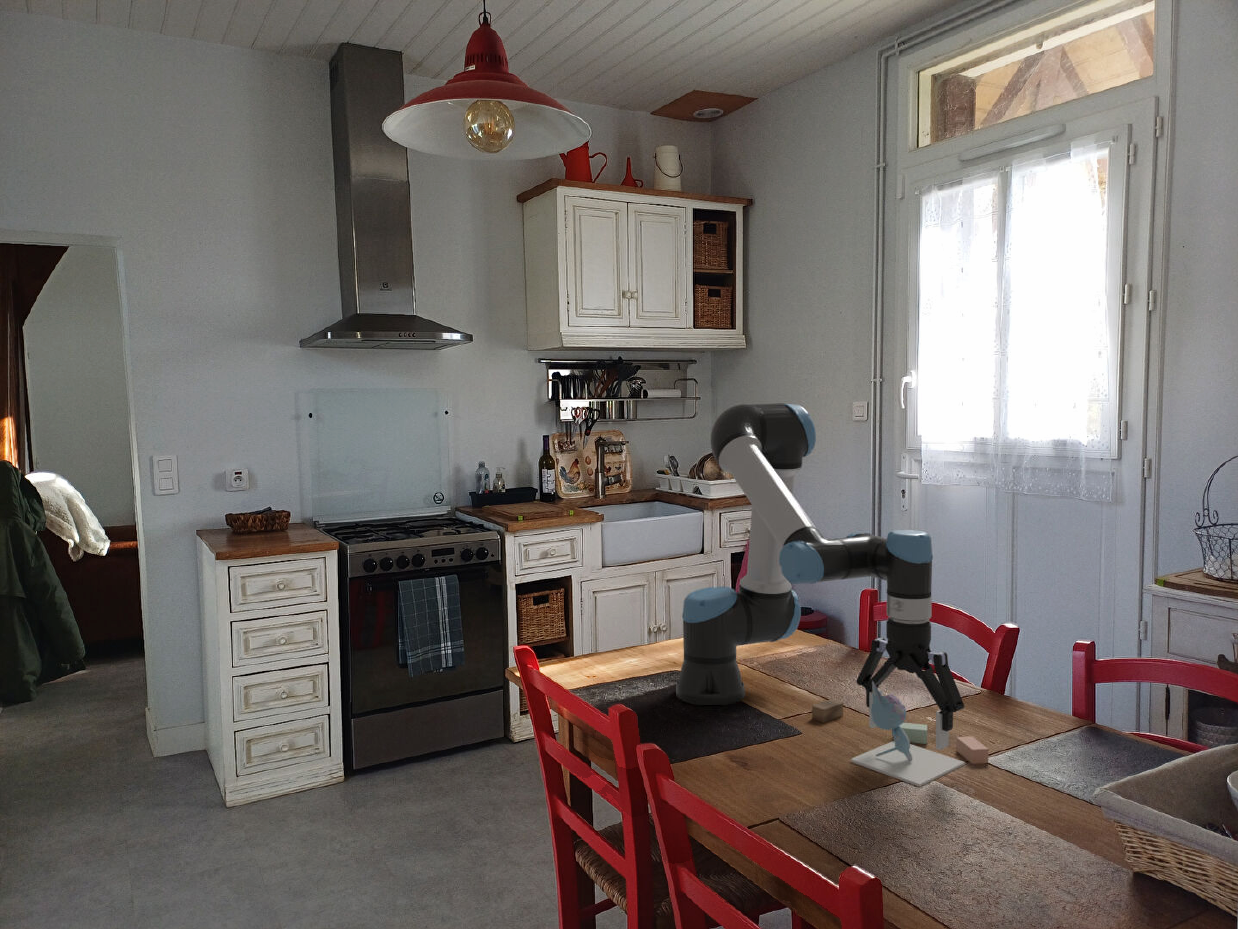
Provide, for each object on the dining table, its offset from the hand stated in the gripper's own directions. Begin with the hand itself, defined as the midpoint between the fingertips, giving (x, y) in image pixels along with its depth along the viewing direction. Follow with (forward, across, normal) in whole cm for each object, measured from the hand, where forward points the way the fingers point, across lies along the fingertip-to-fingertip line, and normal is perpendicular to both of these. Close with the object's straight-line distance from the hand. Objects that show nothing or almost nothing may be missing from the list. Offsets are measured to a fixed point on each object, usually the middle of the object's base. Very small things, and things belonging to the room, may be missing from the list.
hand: (907, 736), depth 160 cm
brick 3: (+5, +6, +11) cm, 14 cm away
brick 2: (+5, -6, +10) cm, 13 cm away
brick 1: (+5, -24, +8) cm, 26 cm away
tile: (+5, 0, 0) cm, 5 cm away
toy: (+5, 0, 0) cm, 5 cm away
